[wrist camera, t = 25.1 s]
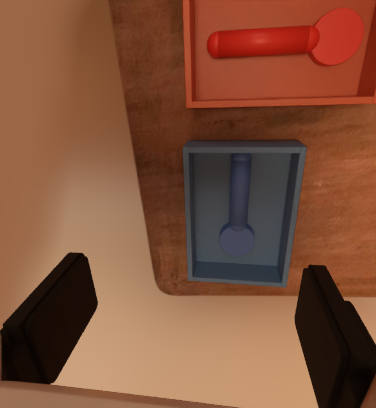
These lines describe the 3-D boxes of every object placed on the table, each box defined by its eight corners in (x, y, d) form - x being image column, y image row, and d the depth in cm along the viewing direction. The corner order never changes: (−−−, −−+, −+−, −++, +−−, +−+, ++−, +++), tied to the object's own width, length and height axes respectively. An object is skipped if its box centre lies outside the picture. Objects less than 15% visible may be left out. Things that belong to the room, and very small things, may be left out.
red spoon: (207, 71, 27) (205, 70, 25) (207, 20, 26) (205, 15, 24) (351, 65, 25) (362, 63, 23) (362, 9, 24) (374, 2, 22)
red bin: (191, 105, 29) (186, 108, 26) (188, -22, 25) (181, -40, 21) (359, 101, 27) (379, 103, 23) (389, -41, 22) (420, -65, 19)
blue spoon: (221, 146, 30) (221, 150, 28) (261, 146, 30) (263, 150, 28) (219, 248, 36) (218, 258, 34) (252, 250, 35) (254, 260, 33)
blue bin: (192, 262, 38) (188, 280, 34) (188, 140, 31) (182, 147, 27) (280, 267, 36) (286, 287, 33) (297, 139, 29) (307, 147, 26)
